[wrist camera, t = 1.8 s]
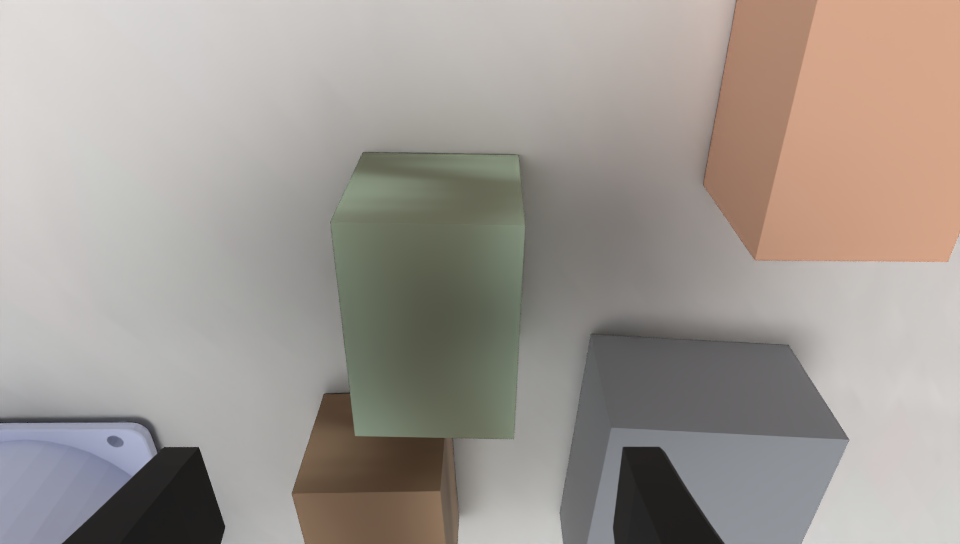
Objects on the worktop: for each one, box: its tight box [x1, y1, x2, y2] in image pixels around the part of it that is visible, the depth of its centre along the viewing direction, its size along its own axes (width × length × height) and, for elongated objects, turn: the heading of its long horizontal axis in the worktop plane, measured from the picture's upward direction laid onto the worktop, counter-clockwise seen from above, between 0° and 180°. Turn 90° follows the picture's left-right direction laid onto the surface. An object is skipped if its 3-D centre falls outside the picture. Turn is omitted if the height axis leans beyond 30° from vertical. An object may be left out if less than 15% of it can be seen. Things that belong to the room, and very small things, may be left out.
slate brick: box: [560, 334, 849, 544], centre depth 20 cm, size 6×8×4 cm
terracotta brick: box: [703, 0, 960, 262], centre depth 14 cm, size 4×6×4 cm, turn 0°
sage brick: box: [330, 153, 525, 439], centre depth 17 cm, size 4×6×4 cm, turn 179°
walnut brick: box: [292, 394, 459, 544], centre depth 21 cm, size 4×6×4 cm, turn 2°
